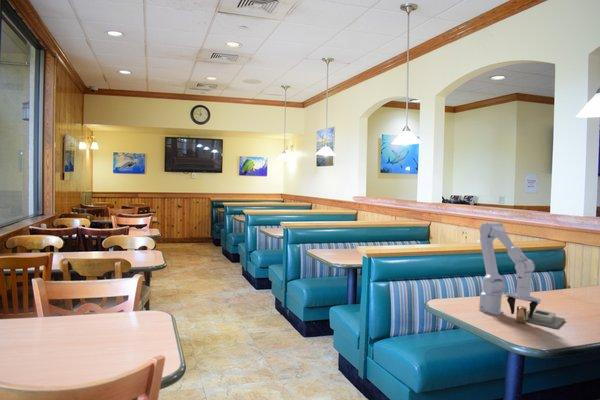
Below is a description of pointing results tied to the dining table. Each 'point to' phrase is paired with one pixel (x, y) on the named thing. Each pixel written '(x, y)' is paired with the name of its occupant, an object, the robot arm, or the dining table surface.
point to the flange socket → (544, 318)
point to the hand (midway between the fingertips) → (521, 315)
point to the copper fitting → (521, 315)
